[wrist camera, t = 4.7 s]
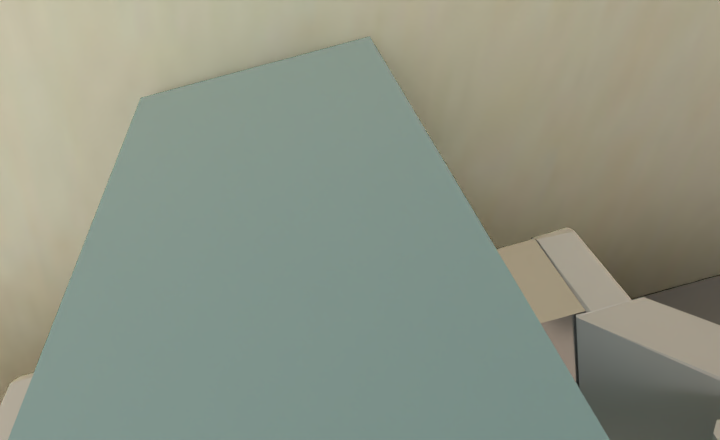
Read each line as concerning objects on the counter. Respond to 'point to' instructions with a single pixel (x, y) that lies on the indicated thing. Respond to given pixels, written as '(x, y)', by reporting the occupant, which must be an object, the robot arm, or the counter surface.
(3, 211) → the counter surface
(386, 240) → the plug
